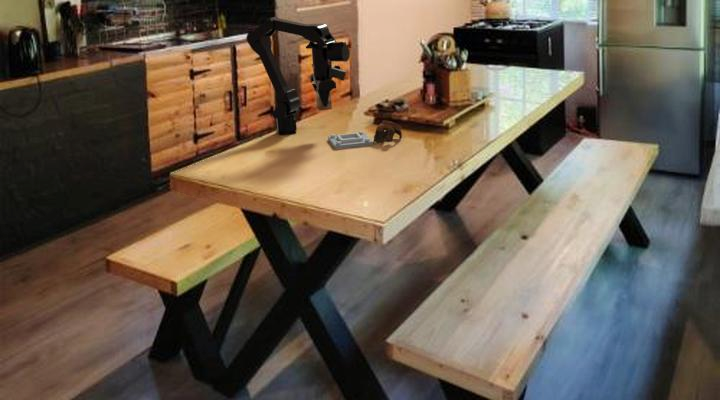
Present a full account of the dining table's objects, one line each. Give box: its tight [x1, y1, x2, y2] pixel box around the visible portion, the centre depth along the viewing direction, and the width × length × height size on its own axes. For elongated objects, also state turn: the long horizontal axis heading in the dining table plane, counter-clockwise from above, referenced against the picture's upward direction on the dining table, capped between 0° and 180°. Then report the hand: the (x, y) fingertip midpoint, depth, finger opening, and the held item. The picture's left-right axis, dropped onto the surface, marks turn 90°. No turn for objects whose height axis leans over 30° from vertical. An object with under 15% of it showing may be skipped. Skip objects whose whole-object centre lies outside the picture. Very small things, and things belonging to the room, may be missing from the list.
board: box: [327, 131, 374, 150], centre depth 261 cm, size 13×13×2 cm
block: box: [315, 91, 333, 111], centre depth 267 cm, size 4×4×6 cm
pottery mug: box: [373, 119, 403, 145], centre depth 259 cm, size 12×9×8 cm
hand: (324, 105), depth 268 cm, fingers closed on block, 4 cm apart
